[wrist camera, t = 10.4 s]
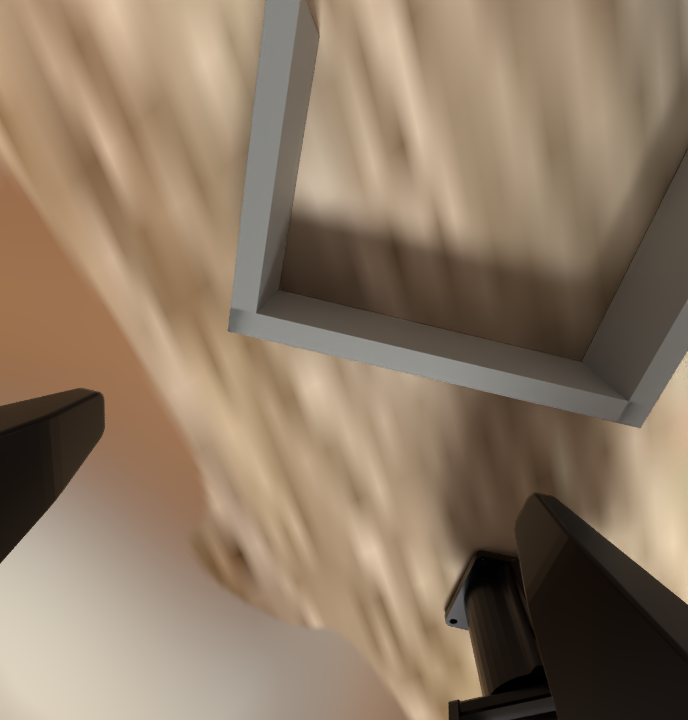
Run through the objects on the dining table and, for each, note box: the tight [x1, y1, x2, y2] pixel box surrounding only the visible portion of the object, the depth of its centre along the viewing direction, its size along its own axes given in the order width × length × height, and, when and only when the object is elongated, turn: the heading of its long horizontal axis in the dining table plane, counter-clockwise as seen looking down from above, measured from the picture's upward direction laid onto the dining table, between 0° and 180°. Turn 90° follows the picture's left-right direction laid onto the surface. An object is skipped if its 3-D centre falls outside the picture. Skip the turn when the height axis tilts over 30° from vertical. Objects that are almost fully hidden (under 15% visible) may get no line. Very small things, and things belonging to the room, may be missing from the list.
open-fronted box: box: [228, 0, 688, 428], centre depth 16 cm, size 11×17×4 cm, turn 77°
